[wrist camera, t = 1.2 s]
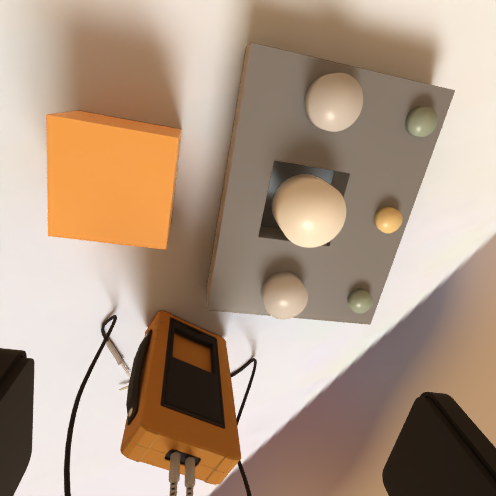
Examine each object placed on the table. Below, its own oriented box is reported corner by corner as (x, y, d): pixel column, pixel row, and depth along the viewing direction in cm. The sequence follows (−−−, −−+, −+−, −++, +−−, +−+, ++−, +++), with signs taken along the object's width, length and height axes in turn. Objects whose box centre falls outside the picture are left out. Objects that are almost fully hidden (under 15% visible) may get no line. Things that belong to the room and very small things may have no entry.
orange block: (77, 110, 26) (46, 114, 21) (181, 129, 27) (178, 137, 22) (76, 209, 29) (48, 235, 23) (171, 221, 30) (165, 249, 25)
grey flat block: (246, 48, 26) (255, 39, 22) (430, 90, 29) (469, 90, 25) (206, 292, 33) (207, 320, 29) (356, 307, 36) (377, 334, 32)
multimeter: (73, 370, 34) (-63, 680, 16) (122, 289, 32) (25, 547, 14) (207, 419, 39) (218, 702, 21) (258, 352, 37) (322, 607, 18)
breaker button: (279, 168, 27) (288, 177, 24) (339, 178, 28) (354, 188, 25) (266, 229, 29) (273, 243, 26) (322, 236, 30) (335, 251, 27)
